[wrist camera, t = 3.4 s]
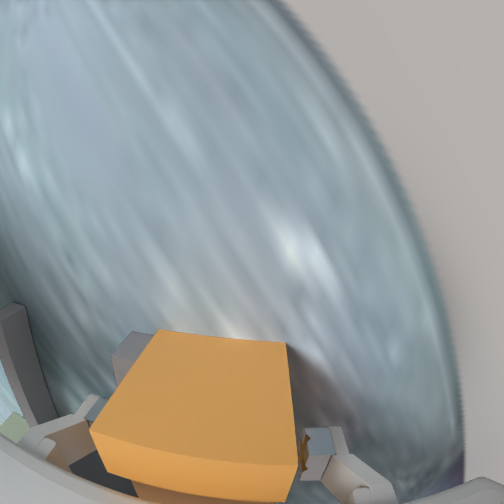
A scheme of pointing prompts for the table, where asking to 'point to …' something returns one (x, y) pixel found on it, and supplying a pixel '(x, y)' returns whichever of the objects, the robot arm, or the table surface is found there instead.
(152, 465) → the orange lidded box
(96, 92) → the table surface
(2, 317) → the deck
